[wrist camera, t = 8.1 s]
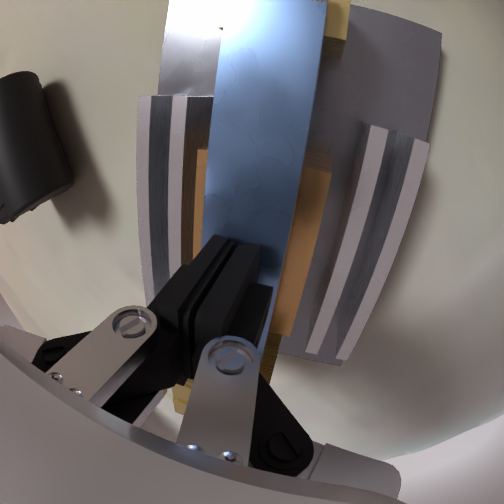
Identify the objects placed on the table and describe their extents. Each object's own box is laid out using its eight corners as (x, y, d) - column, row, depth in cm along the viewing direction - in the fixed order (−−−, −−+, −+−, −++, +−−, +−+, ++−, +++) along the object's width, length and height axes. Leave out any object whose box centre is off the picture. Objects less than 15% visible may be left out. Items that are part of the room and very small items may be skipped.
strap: (240, -14, 7) (231, -24, 6) (329, -7, 6) (329, -19, 5) (204, 343, 14) (197, 356, 13) (262, 359, 14) (257, 374, 13)
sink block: (182, 4, 12) (69, -40, 4) (432, 38, 10) (524, -8, 2) (170, 306, 23) (109, 391, 15) (340, 351, 21) (331, 460, 13)
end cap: (95, 172, 19) (26, 205, 13) (52, 203, 22) (-4, 235, 16) (57, 66, 15) (-13, 75, 9) (19, 112, 18) (-38, 129, 12)
